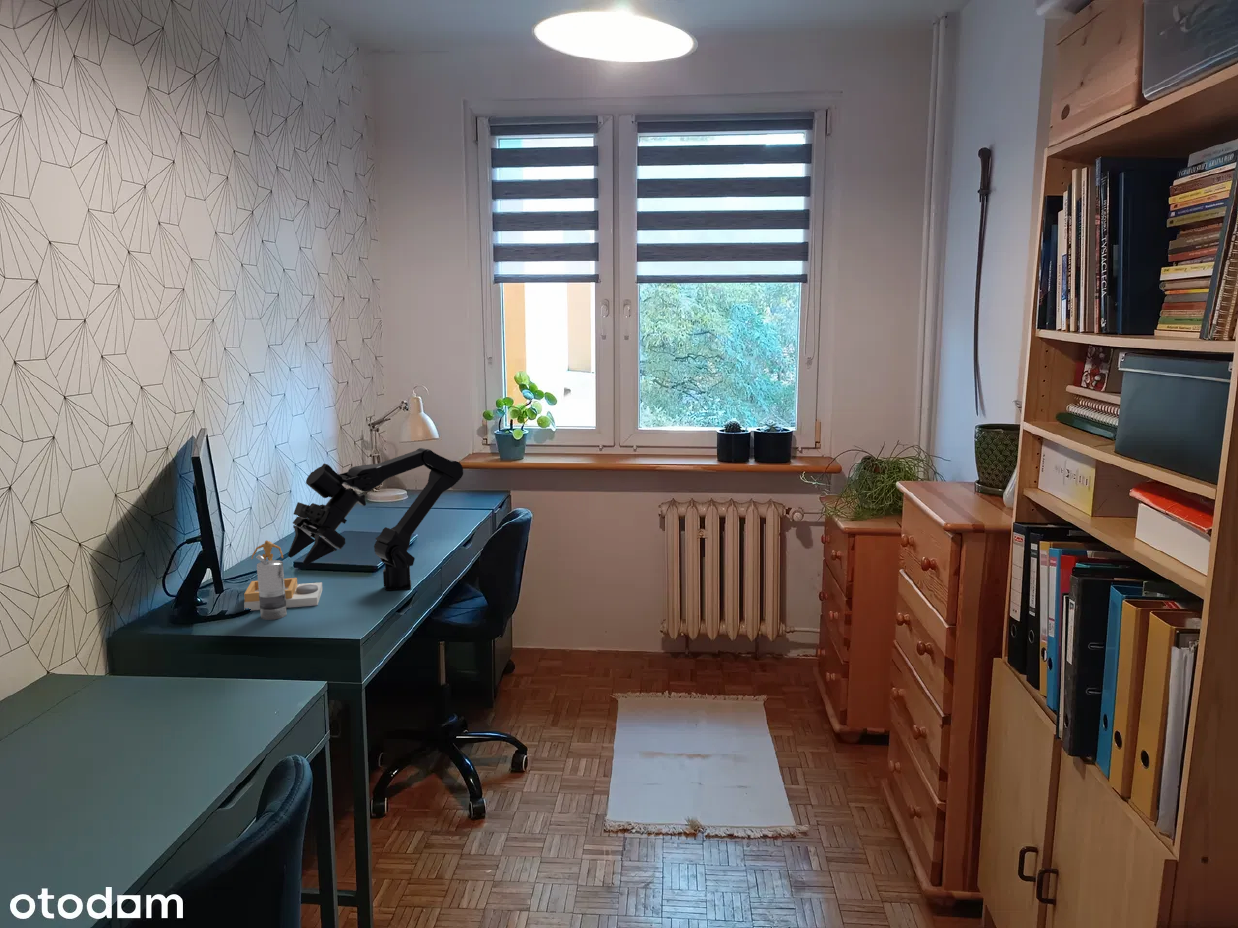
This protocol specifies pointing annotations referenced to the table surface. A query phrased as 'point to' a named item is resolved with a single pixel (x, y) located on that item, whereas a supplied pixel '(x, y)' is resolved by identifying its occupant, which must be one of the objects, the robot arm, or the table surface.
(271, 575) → the spout can
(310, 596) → the white orange holder tray
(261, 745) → the table surface
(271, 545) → the figurine
